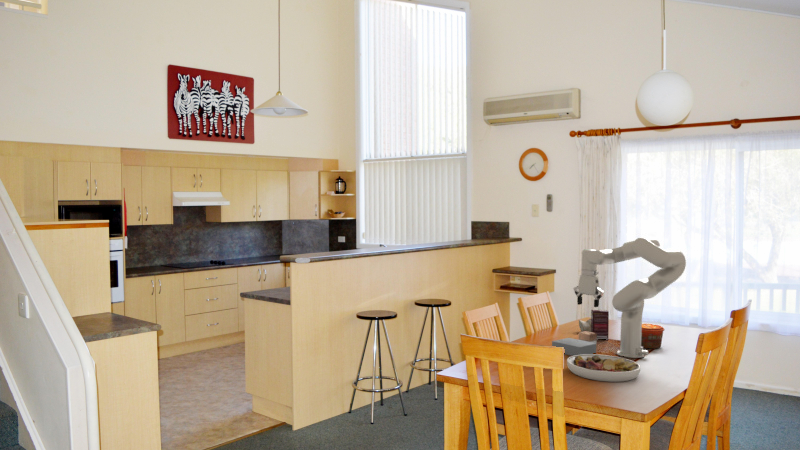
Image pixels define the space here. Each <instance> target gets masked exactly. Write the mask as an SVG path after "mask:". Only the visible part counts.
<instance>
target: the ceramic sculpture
mask: <svg viewBox="0 0 800 450" xmlns="http://www.w3.org/2000/svg"><path fill="white" fill-rule="evenodd" d="M578 327H579V330H580V332H584V331H588V332H591V318H589V319H587V320H586V321H584V320H581V319H578Z"/></svg>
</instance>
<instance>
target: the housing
mask: <svg viewBox="0 0 800 450" xmlns="http://www.w3.org/2000/svg"><path fill="white" fill-rule="evenodd" d="M577 340H582V341H587V342H592V343H596V344H597V333H593V332H588V331H584V332H581V331H580V332H578V339H577Z"/></svg>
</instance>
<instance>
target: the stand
mask: <svg viewBox="0 0 800 450" xmlns="http://www.w3.org/2000/svg"><path fill="white" fill-rule="evenodd" d="M552 346H556V347H564V349H565V354H564V355H567V356H570V357H571V356H575V355H583V354H593V353H596V354H597V342H596V343H592V342H587V341H582V340H578V339H576V338H572V337H566V338H560V339H557V340H552V341H551V347H552Z"/></svg>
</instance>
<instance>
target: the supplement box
mask: <svg viewBox="0 0 800 450" xmlns="http://www.w3.org/2000/svg"><path fill="white" fill-rule="evenodd" d="M590 313H591V314H590V316H591V318H590V319H591V332H593V333H597V340H598V339H606V340H605V341H608V340H609V329H610V328H609V317H610V316H609V314H610V313H609V310H607V309H591V311H590ZM598 341H599V340H598Z"/></svg>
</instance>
